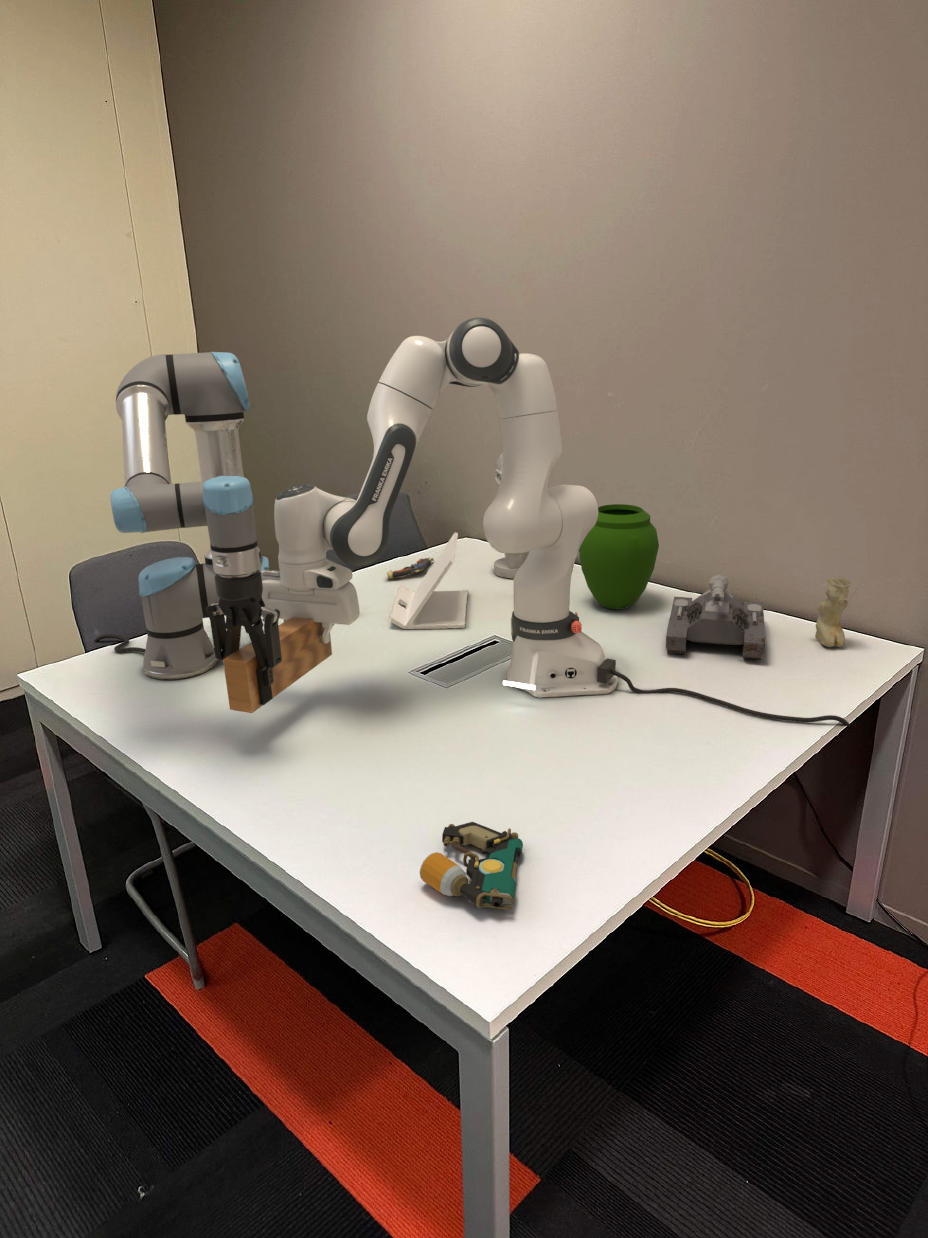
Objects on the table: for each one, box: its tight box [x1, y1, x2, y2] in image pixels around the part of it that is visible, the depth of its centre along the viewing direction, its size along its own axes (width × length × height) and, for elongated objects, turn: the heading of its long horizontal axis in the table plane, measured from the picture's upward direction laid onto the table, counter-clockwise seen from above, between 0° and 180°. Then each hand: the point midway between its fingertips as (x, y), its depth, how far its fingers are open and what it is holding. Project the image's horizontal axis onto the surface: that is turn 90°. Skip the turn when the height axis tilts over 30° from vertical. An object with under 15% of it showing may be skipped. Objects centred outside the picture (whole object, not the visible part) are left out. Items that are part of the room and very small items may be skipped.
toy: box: [665, 574, 766, 660], centre depth 189 cm, size 25×20×15 cm
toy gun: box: [386, 557, 435, 580], centre depth 245 cm, size 3×19×10 cm
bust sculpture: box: [493, 452, 530, 579], centre depth 231 cm, size 16×24×35 cm
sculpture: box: [814, 576, 852, 648], centre depth 185 cm, size 6×7×15 cm
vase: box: [578, 503, 660, 610], centre depth 210 cm, size 20×20×24 cm
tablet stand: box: [388, 531, 468, 630], centre depth 211 cm, size 18×25×17 cm
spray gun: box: [419, 821, 524, 911], centre depth 116 cm, size 4×17×15 cm
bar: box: [222, 617, 333, 714], centre depth 156 cm, size 27×5×9 cm, turn 158°
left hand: (253, 699), depth 149 cm, fingers closed on bar, 5 cm apart
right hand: (310, 641), depth 165 cm, fingers closed on bar, 4 cm apart
